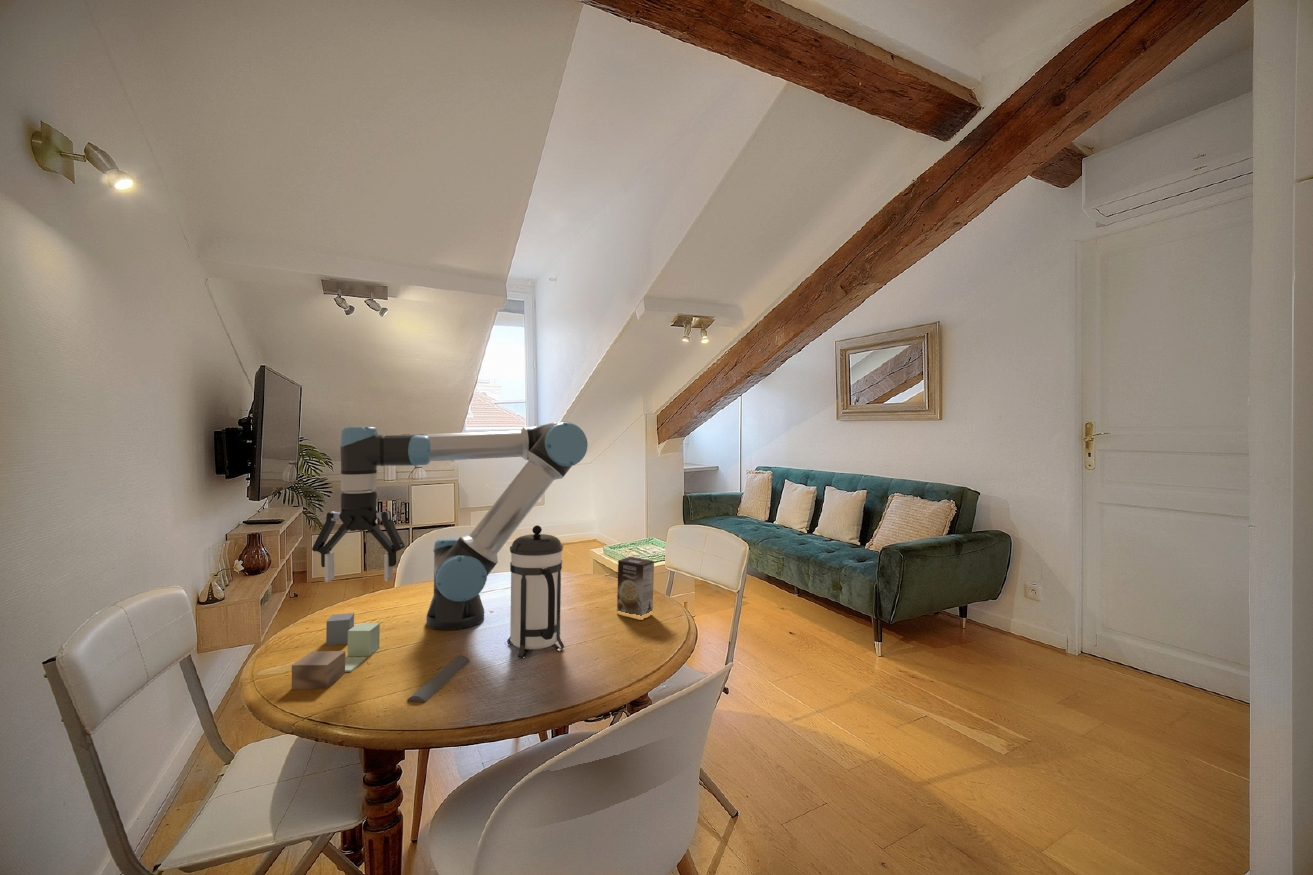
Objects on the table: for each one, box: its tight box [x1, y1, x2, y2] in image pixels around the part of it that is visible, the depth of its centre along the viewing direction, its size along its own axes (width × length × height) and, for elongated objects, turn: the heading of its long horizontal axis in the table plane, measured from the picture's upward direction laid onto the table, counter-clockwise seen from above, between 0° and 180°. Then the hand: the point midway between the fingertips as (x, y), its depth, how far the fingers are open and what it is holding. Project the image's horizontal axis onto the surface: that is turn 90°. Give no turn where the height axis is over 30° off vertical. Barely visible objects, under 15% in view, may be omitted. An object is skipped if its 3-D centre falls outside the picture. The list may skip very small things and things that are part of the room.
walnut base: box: [291, 650, 346, 690], centre depth 113 cm, size 7×7×5 cm
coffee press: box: [506, 524, 565, 659], centre depth 131 cm, size 17×16×30 cm
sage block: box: [347, 622, 381, 657], centre depth 128 cm, size 5×5×6 cm
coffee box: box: [616, 556, 655, 616], centre depth 157 cm, size 9×6×16 cm
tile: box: [345, 656, 367, 673], centre depth 120 cm, size 7×7×1 cm
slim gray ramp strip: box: [406, 654, 470, 703], centre depth 114 cm, size 4×20×2 cm, turn 174°
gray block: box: [325, 612, 355, 646], centre depth 134 cm, size 5×5×6 cm
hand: (359, 580), depth 128 cm, fingers open, 13 cm apart
